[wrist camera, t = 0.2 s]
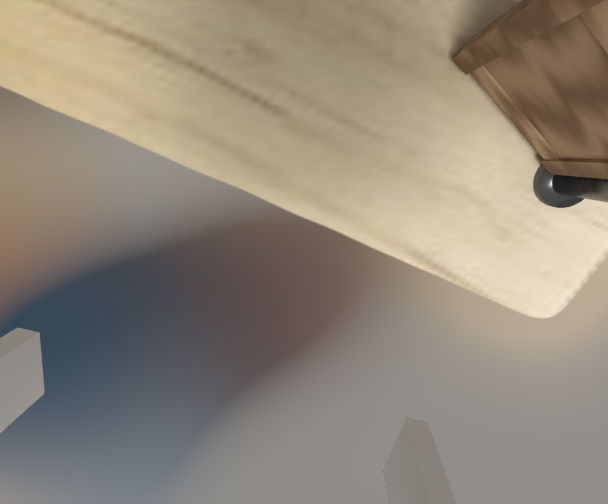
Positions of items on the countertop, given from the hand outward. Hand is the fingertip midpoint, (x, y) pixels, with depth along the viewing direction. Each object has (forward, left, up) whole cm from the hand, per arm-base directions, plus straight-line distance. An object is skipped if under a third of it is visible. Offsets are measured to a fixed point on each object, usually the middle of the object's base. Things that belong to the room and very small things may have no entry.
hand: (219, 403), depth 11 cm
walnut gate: (-18, +19, -26) cm, 37 cm away
